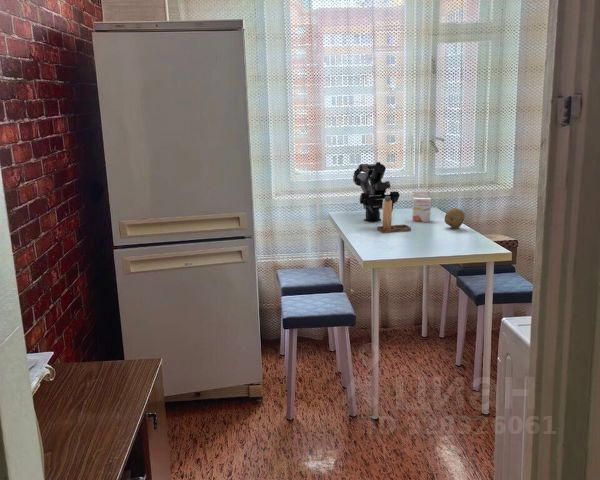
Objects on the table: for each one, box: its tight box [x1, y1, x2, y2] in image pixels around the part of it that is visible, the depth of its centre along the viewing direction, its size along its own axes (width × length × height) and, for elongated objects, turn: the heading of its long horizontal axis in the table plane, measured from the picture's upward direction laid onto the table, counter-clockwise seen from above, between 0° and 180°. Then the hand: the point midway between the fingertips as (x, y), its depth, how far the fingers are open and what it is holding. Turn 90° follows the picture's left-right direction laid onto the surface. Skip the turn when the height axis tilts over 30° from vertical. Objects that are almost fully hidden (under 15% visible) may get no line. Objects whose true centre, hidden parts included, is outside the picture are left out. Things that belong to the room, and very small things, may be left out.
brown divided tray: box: [376, 224, 412, 234], centre depth 292 cm, size 14×7×2 cm, turn 103°
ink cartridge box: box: [412, 190, 432, 223], centre depth 311 cm, size 9×5×15 cm, turn 84°
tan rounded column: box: [382, 196, 393, 229], centre depth 289 cm, size 4×4×16 cm
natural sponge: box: [444, 207, 466, 230], centre depth 293 cm, size 9×9×10 cm
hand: (382, 211), depth 297 cm, fingers open, 9 cm apart
